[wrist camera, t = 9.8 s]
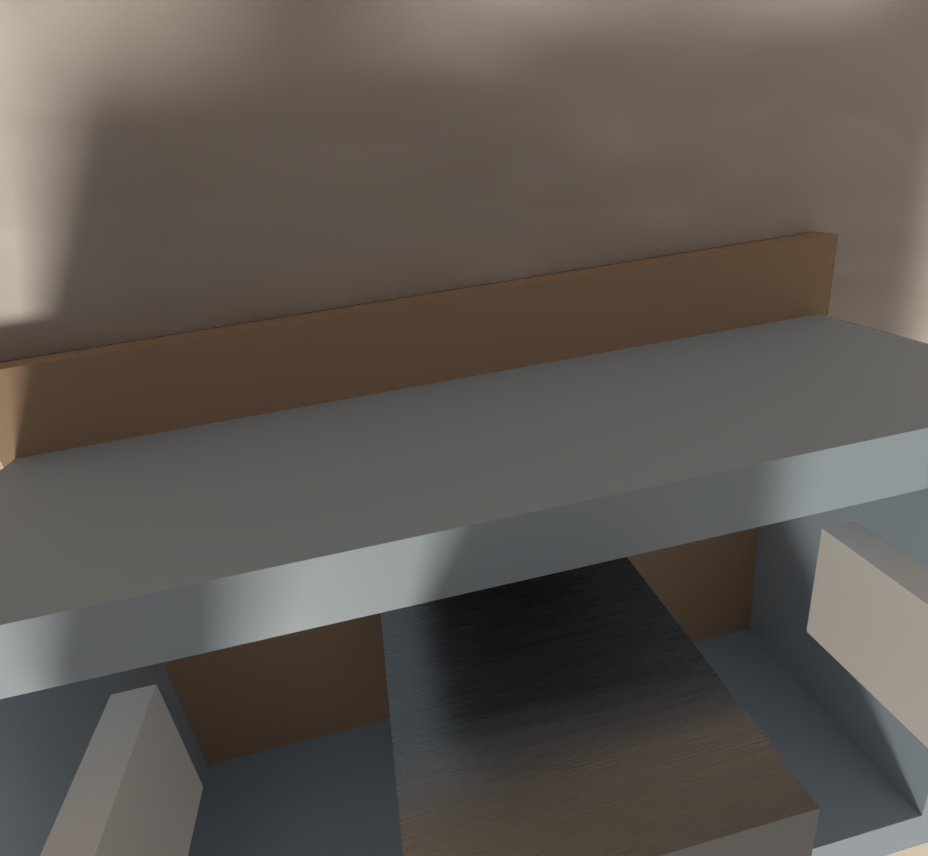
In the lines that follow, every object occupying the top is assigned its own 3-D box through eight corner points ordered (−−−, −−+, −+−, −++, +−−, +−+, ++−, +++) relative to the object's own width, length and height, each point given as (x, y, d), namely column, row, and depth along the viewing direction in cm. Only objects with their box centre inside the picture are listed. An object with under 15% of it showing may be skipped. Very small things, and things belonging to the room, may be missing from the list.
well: (-20, 365, 13) (-385, 549, 7) (815, 232, 16) (1157, 265, 9) (194, 821, 20) (119, 1148, 13) (766, 671, 22) (948, 879, 16)
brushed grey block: (369, 495, 16) (410, 930, 6) (551, 458, 16) (820, 807, 7) (408, 677, 18) (477, 1172, 9) (564, 640, 19) (773, 1065, 10)
